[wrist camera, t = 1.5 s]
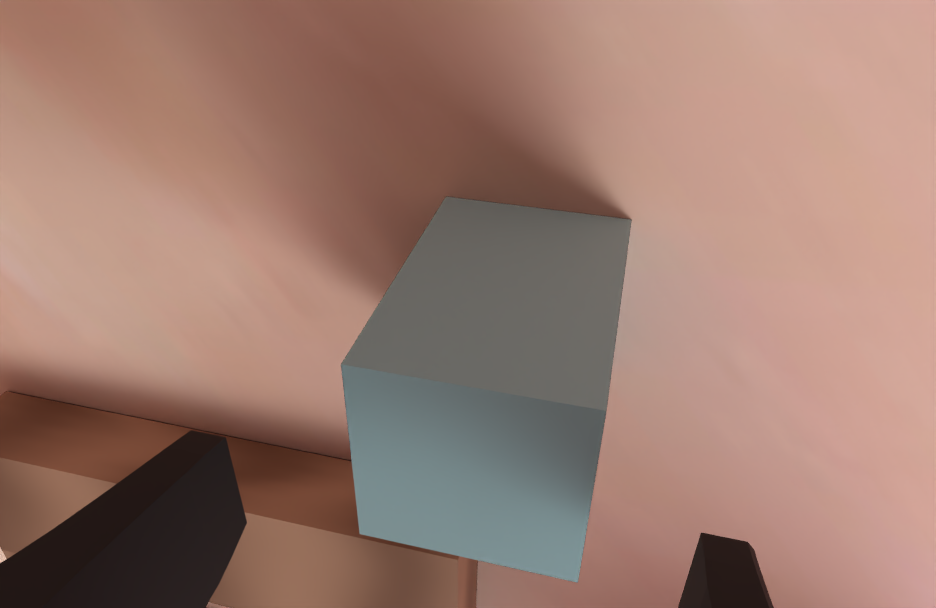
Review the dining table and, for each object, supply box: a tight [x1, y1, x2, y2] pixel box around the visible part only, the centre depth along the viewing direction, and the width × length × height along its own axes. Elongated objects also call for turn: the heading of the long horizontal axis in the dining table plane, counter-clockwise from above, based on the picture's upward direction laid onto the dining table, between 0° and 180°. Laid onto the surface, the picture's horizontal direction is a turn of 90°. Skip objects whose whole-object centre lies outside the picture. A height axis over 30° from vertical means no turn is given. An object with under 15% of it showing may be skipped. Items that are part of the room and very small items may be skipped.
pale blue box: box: [341, 197, 632, 583], centre depth 14 cm, size 4×4×6 cm
